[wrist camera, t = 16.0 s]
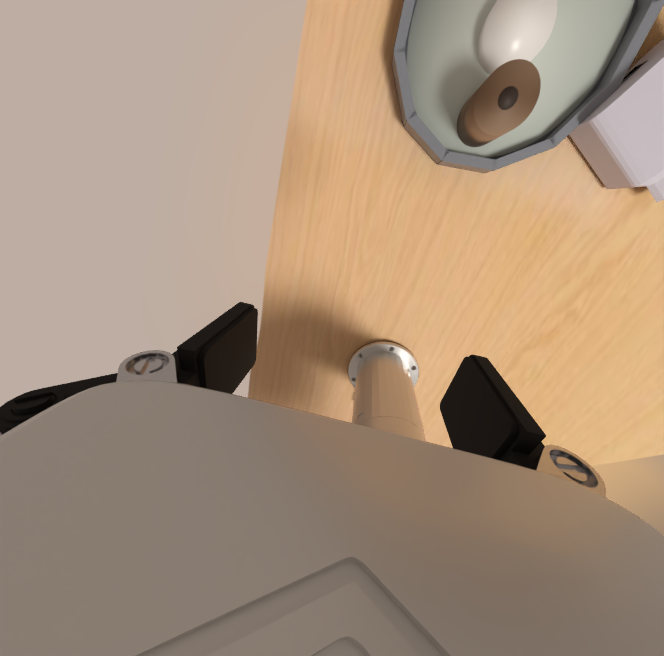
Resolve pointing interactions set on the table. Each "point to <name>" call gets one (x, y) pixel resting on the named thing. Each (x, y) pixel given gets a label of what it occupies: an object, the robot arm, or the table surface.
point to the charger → (629, 130)
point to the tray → (505, 45)
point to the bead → (499, 103)
